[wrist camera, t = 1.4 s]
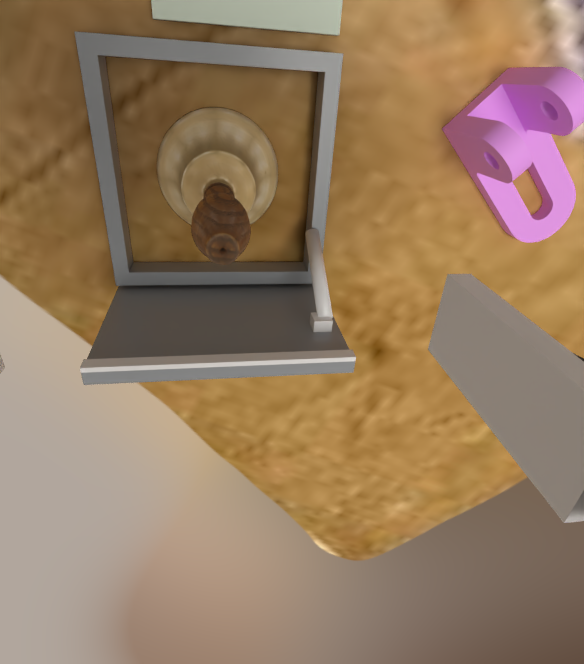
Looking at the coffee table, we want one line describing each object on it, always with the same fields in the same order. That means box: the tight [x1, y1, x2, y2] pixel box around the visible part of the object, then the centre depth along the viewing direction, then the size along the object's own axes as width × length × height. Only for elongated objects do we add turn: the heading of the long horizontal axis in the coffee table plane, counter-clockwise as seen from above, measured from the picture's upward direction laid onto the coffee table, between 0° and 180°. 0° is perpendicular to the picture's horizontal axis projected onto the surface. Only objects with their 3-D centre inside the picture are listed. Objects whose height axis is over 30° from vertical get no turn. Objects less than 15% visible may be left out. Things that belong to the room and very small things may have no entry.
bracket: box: [442, 67, 584, 242], centre depth 30 cm, size 13×6×7 cm, turn 42°
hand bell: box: [157, 107, 278, 265], centre depth 23 cm, size 8×8×16 cm
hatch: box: [75, 32, 356, 385], centre depth 25 cm, size 16×15×12 cm
